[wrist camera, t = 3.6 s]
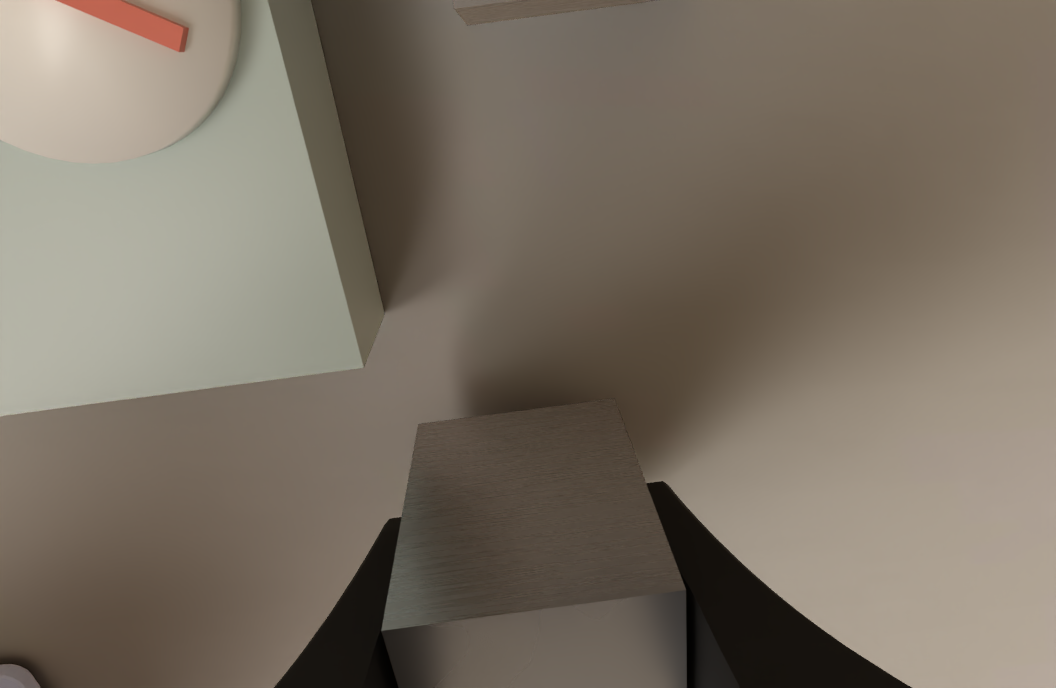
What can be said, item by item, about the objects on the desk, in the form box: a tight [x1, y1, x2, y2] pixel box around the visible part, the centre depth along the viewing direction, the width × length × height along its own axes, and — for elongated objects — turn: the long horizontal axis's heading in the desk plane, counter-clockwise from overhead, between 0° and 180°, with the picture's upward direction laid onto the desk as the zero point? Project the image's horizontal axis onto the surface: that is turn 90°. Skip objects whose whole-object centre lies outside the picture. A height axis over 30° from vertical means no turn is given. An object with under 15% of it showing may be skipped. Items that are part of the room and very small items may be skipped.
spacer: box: [381, 398, 687, 688], centre depth 11 cm, size 4×4×5 cm
